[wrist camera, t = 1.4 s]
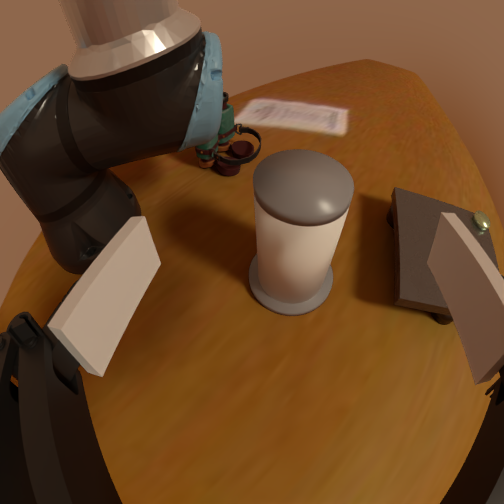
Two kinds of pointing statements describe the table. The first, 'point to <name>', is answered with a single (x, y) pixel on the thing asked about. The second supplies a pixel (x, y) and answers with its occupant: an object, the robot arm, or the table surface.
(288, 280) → the white flanged cylinder
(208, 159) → the binoculars
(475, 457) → the robot arm
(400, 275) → the stand
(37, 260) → the table surface
